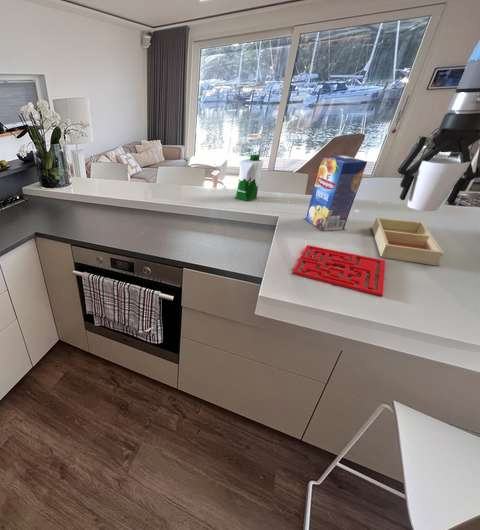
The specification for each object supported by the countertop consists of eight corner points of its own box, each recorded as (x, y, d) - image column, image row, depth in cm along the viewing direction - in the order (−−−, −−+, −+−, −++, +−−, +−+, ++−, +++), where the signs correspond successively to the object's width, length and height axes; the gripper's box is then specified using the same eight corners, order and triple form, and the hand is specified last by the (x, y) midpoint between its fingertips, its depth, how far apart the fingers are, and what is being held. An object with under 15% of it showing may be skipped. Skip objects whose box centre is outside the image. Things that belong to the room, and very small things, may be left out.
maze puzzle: (306, 246, 96) (307, 244, 95) (384, 262, 84) (385, 260, 84) (292, 273, 83) (292, 271, 82) (381, 296, 71) (382, 294, 71)
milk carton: (259, 198, 142) (266, 155, 132) (247, 202, 138) (254, 158, 128) (244, 194, 148) (250, 153, 138) (232, 198, 144) (237, 156, 134)
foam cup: (399, 200, 88) (418, 156, 82) (441, 204, 83) (465, 157, 77) (401, 210, 82) (422, 163, 75) (447, 215, 77) (474, 165, 70)
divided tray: (417, 233, 98) (423, 222, 96) (436, 265, 81) (443, 252, 79) (371, 228, 104) (376, 217, 102) (380, 257, 87) (385, 245, 85)
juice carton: (343, 229, 105) (367, 161, 93) (322, 230, 106) (343, 163, 94) (324, 217, 116) (343, 155, 103) (305, 218, 116) (322, 156, 104)
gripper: (410, 114, 73) (377, 200, 84) (546, 110, 62) (486, 209, 74) (405, 112, 78) (374, 193, 90) (529, 108, 68) (476, 200, 79)
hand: (425, 200), depth 82 cm, fingers closed on foam cup, 9 cm apart
